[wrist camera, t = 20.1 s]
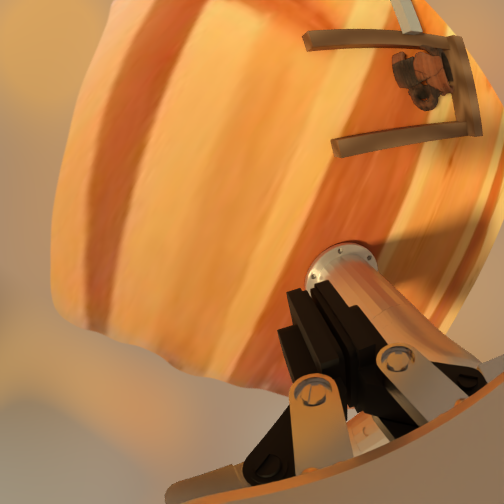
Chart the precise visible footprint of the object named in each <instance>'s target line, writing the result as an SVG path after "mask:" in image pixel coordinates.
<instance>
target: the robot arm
mask: <svg viewBox="0 0 504 504" xmlns="http://www.w3.org/2000/svg"><path fill="white" fill-rule="evenodd" d="M338 249H339V250H338ZM287 299H288V303H289V308H290V313H291V317H292V322H293V325H292V326H289V327H285V328H282V329H279V330H277V331H278V336H279V340H280V344H281V347H282V351H283V354H284V358H285V361H286V364H287V367H288V370H289V373H290V376H291V379H292V382H293V384H292V386H291V388H290V390H289V406H288V407H287V408H286V410H285V411H284V412H283V414H282V415H281V416H280V418H279V419H278V420H277V421H276V423H275V424H274V425H273V426H272V428H271V429H270V430H269V431H268V433H267V434H266V435H265V437H264V438H263V439H262V440H261V441H260V442H259V444H258V445H257V446H256V447H255V448H254V450H253V451H252V452H251V453H250V454H249V455H248V457H247V458H246V460H245V461H244V462H242V463H239V464H237V465H234V466H233V465H232V464H230V465H227V466H225V467H222V468H219V469H216V470H213V471H210V472H208V473H204V474H202V475H199V476H195V477H192V478H189V479H185V480H182V481H178V482H176V483H174V484H172V485H171V486H170V487H169V488H168V489H167V491H166V493H165V503H166V504H504V354H503V355H501V356H499V357H497V358H494V359H492V360H489V361H487V362H484V363H481V362H480V361H479V360H478V359H477V358H476V357H475V356H473V355H472V354H471V353H469V352H468V351H466V350H465V349H463V348H462V347H461V346H459V345H458V344H457V343H455V342H454V341H452V340H451V339H450V338H448V337H447V336H446V335H445V334H443V333H442V332H441V331H440V330H439V329H438V328H436V327H435V326H434V325H433V324H432V323H431V322H430V321H429V320H428V319H427V318H426V317H425V316H424V315H423V314H422V313H421V312H420V311H419V310H418V309H417V308H416V307H415V306H414V305H413V304H412V303H411V302H410V301H408V300H407V299H406V298H405V297H404V296H403V295H402V294H401V293H400V292H399V291H398V290H397V289H396V288H395V287H394V286H393V285H392V284H391V283H390V282H388V281H387V280H386V279H385V278H384V277H383V276H382V275H381V274H380V273H379V272H378V265H377V262H376V259H375V257H374V256H373V254H372V253H371V252H370V251H369V250H368V249H367V248H365V247H364V246H362V245H360V244H357V243H351V242H347V243H340V244H336V245H334V246H332V247H330V248H328V249H326V250H325V251H323V252H322V253H321V254H320V255H319V256H318V257H317V258H316V259H315V260H314V262H313V263H312V264H311V266H310V268H309V270H308V272H307V275H306V279H305V291H302V290H301V288H299V289H295V290H292V291H289V292H287ZM347 404H348V406H349V407H350V408H351V407H353V406H354V407H355V409H356V411H357V413H359V412H360V413H359V414H357V415H356V416H355V417H354V418H352V419H351V420H349V421H348V422H347V423H346V421H347Z"/></svg>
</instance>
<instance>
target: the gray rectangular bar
mask: <svg viewBox="0 0 504 504" xmlns="http://www.w3.org/2000/svg"><path fill="white" fill-rule="evenodd" d="M390 1H391V4H392V6H393V8H394V11H395V14H396V16H397V19H398V22H399V24H400V27H401V30H402V33H403V34H409V35H416V34H419V33H422V32H423V31H422V28H421V26H420V23H419V20H418V17H417V15H416V12H415V10H414V7H413V5H412V2H411V0H390Z"/></svg>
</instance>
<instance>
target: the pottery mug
mask: <svg viewBox="0 0 504 504" xmlns="http://www.w3.org/2000/svg"><path fill="white" fill-rule="evenodd" d="M420 48H422V49H425V50H426V51H428V52H429V53H430V55H429V54H426V53H423V52H418V53H416V55H415V57H410V58H408V59H406V60H405V53H404V52H399V53H397V54H395V55H393V57H392V66H393V73H394V76H395V79H396V81H397V83H398V85H399V87H400V88H408V89H409V91H408V93H409V95H410V96H411V98H412V100H413V103H414V104H415V105H416V106H417V107H418V108H420V109H421V110H423V111H429V110H433V109H434V108H435V107H436V105H437V103H438V97H439V96H440V94H441V95H443V96H444V95H446V94H447V93H453V91H454V86H453V85H449V83H448V81H453V75H452V71H451V67H450V64H449V62H448V59H447V57H446V55H445V53H444V51H443V50H442V49H441V48H436V49H434V48H433V47H431V46H428V45H421V46H420ZM424 80H426V83H427V84H428V85H425V86H424V85H423V84H421V82H422V81H424ZM440 92H441V93H440ZM426 98H427V100H425V101H422V100H421V99H426Z"/></svg>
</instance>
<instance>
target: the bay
mask: <svg viewBox="0 0 504 504" xmlns="http://www.w3.org/2000/svg"><path fill="white" fill-rule="evenodd" d="M302 38H303V41H304V44H305V47H306V50H307V52H308V51H317V50H329V49H344V48H407V49H422V48H420V46H421V45H428V46H431V47H433V48H434V49H436V48H441V49H442V50H443V51H444V53H445V55H446V57H447V59H448V62H449V64H450V67H451V71H452V75H453V81H449V84H450V85H453V86H454V91H453V93H451V94H452V99H453V104H454V109H455V115H456V121H454V122H443V123H433V124H424V125H416V126H408V127H401V128H394V129H388V130H381V131H375V132H369V133H363V134H358V135H352V136H347V137H342V138H337V139H332V140H331V144H332V149H333V154H334V157H339V158H344V157H349V156H353V155H358V154H363V153H367V152H372V151H377V150H382V149H387V148H393V147H398V146H404V145H409V144H415V143H421V142H427V141H433V140H440V139H447V138H454V137H461V136H474V137H477V136H483V133H482V125H481V118H480V111H479V105H478V99H477V94H476V89H475V84H474V80H473V75H472V71H471V67H470V63H469V59H468V56H467V52H466V49H465V45H464V42H463V39H462V37H459V36H455V35H452V36H448V37H444V36H438V35H431V34H424V33H419V34H416V35H409V34H403V33H402V31H395V30H377V29H334V30H316V31H307V32H306V33H305V34H304V35H303V36H302ZM422 50H425V49H422Z"/></svg>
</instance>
